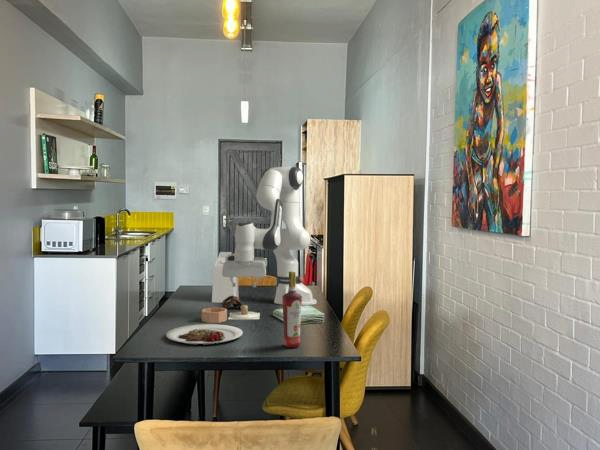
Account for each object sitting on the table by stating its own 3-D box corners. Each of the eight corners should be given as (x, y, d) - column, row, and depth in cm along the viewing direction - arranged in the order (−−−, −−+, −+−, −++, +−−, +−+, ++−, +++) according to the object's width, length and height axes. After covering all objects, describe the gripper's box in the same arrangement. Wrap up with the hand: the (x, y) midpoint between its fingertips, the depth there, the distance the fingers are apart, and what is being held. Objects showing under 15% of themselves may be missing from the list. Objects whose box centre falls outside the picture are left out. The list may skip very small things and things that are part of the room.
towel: (288, 327, 244) (288, 315, 243) (272, 317, 263) (272, 306, 263) (326, 323, 250) (326, 312, 250) (308, 314, 270) (308, 303, 270)
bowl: (227, 318, 258) (227, 307, 257) (225, 323, 247) (225, 312, 247) (203, 318, 257) (203, 307, 257) (200, 323, 246) (200, 312, 246)
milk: (238, 298, 307) (238, 251, 306) (234, 302, 296) (234, 253, 294) (217, 298, 308) (217, 250, 307) (211, 302, 297) (211, 253, 295)
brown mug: (242, 313, 271) (234, 299, 269) (226, 321, 273) (217, 307, 271) (246, 302, 283) (238, 289, 281) (230, 310, 285) (222, 296, 283)
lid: (258, 313, 267) (258, 303, 267) (258, 318, 254) (258, 308, 254) (231, 313, 267) (231, 303, 266) (229, 319, 254) (229, 308, 254)
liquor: (295, 342, 216) (296, 270, 214) (305, 347, 209) (305, 272, 208) (278, 345, 212) (279, 271, 211) (287, 349, 206) (288, 273, 204)
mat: (259, 314, 268) (259, 312, 268) (259, 320, 254) (259, 319, 254) (230, 314, 267) (230, 312, 267) (228, 320, 253) (228, 319, 253)
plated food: (192, 325, 243) (192, 318, 243) (255, 332, 232) (255, 324, 232) (150, 342, 216) (150, 333, 215) (219, 351, 205) (219, 341, 204)
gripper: (267, 256, 263) (266, 286, 263) (223, 255, 262) (222, 285, 262) (267, 257, 256) (266, 288, 257) (221, 257, 255) (221, 287, 256)
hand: (244, 286), depth 260 cm, fingers open, 8 cm apart
